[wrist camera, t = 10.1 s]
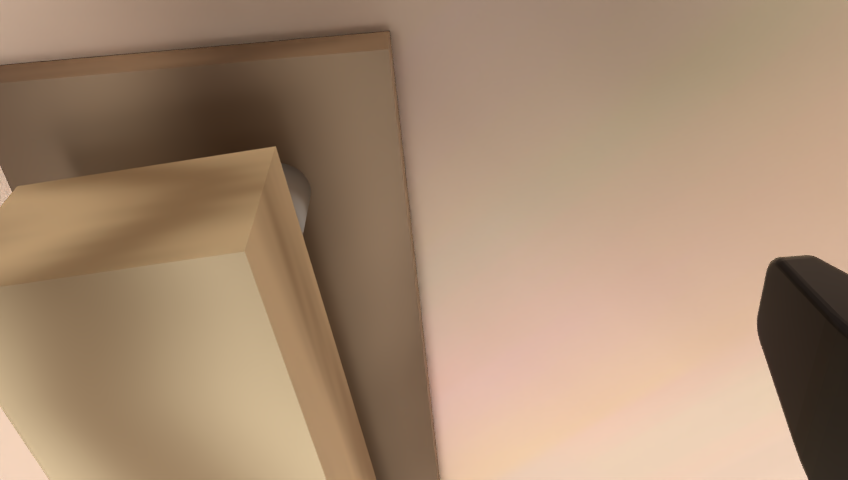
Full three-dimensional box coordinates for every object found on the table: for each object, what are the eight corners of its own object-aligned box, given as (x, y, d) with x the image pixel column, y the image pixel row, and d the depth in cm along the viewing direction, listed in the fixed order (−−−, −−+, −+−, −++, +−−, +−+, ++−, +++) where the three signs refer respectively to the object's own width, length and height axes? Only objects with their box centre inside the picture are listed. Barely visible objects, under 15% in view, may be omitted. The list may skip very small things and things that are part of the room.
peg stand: (389, 31, 19) (386, 84, 16) (444, 516, 30) (447, 596, 27) (-13, 66, 19) (-79, 123, 17) (184, 534, 30) (162, 614, 28)
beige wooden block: (275, 146, 17) (244, 251, 14) (403, 567, 26) (402, 692, 23) (17, 186, 18) (-73, 297, 14) (229, 587, 27) (203, 711, 23)
